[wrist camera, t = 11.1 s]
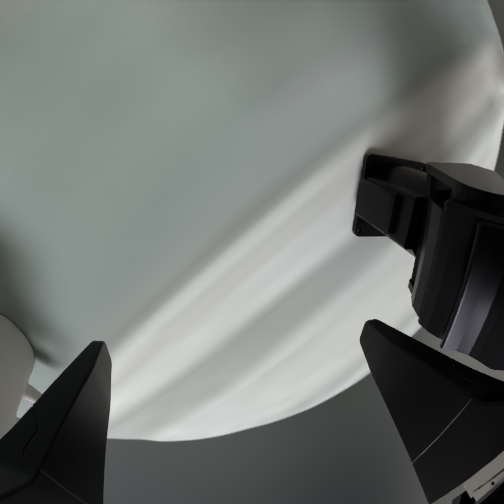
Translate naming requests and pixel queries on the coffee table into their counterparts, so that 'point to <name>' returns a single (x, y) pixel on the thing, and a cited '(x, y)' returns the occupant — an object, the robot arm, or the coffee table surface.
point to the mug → (14, 373)
